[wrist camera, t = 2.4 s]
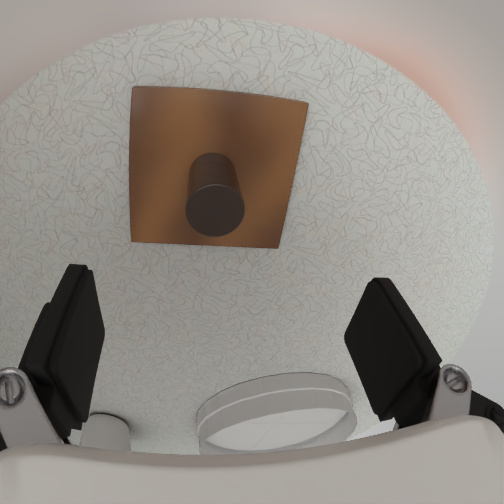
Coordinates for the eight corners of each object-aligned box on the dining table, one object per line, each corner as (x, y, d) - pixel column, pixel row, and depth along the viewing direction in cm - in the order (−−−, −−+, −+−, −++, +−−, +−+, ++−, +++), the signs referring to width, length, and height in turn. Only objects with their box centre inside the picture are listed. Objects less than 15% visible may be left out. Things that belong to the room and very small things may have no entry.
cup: (111, 439, 42) (109, 482, 36) (69, 422, 38) (62, 466, 32) (144, 422, 39) (142, 472, 32) (95, 402, 35) (88, 455, 29)
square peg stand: (133, 236, 23) (116, 291, 18) (134, 86, 17) (106, 97, 12) (276, 243, 25) (296, 297, 20) (305, 101, 19) (343, 119, 14)
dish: (377, 373, 39) (390, 402, 35) (306, 441, 50) (312, 464, 46) (217, 365, 33) (221, 405, 29) (183, 440, 44) (185, 468, 39)
